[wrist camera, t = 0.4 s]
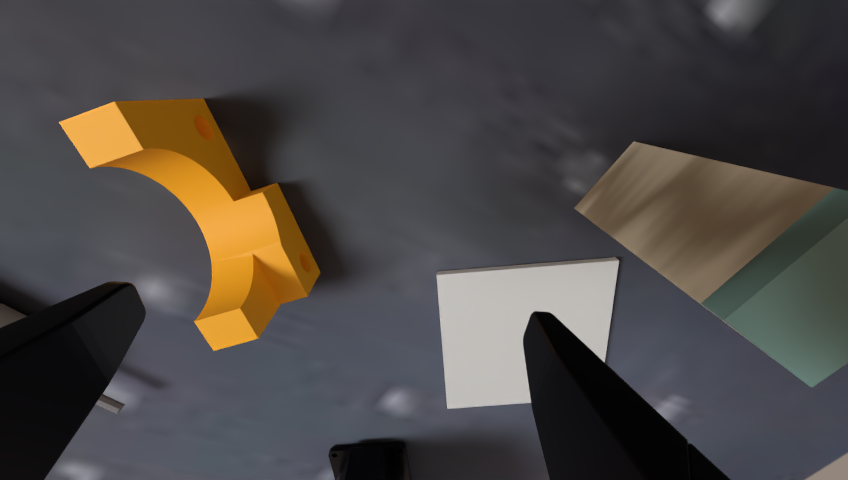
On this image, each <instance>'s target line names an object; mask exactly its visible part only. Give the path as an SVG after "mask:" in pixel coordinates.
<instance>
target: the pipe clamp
mask: <svg viewBox="0 0 848 480" xmlns="http://www.w3.org/2000/svg"><path fill="white" fill-rule="evenodd" d="M59 123H60V125H61V126H62V128H63V129H64V131H65V132H66V134H67V135H68V137H69V138H70V140H71V141H72V143H73V144H74V145H75V147H76V148H77V150H78V151H79V153H80V154H81V156H82V157H83V159H84V160H85V162H86V163H87V165H88V166H89V168H95V167H119V168H125V169H129V170H132V171H136V172H138V173H141V174H144V175H146V176H148V177H150V178H152V179H153V180H155V181H157V182H159V183H160V184H162V185H163V186H164V187H166V188H167V189H168V190H170V191H171V192H172V193H173V194H174V195H175V196H176V197H177V198H179V199H180V200H181V202H182V203H183V204H184V205H185V206H186V207H187V208H188V210H189V211H190V212H191V214H192V215H193V217H194V218H195V220H196V221H197V223H198V225H199V226H200V228H201V230H202V232H203V235H204V237H205V239H206V242H207V245H208V248H209V252H210V257H211V263H212V284H211V290H210V294H209V297H208V300H207V303H206V305H205V307H204V309H203V310H202V312H201V313H200V315H199V316H198V317H197V319H196V320H195V321H194V322H195V324H196V325H197V327H198V328H199V330H200V331H201V333H202V334H203V336H204V337H205V339H206V340H207V342H208V343H209V344H210V346H211V347H212V349H213V350H214V351H215V350H219V349H222V348H226V347H229V346H233V345H237V344H240V343H244V342H247V341H251V340H254V339H258V338H259V337H260V335H261V334H262V332H263V330H264V329H265V327H266V326H267V324H268V323H269V321H270V320H271V318H272V317H273V315H274V314H275V312H276V311H277V309H278V307H279V306H280V304H283V303H286V302H290V301H293V300H297V299H300V298H304V297H307V296H308V295H309V293H310V291H311V289H312V287H313V285H314V284H315V282H316V280H317V278H318V276H319V274H320V273H321V272H320V270H319V268H318V266H317V264H316V262H315V260H314V258H313V256H312V254H311V252H310V249H309V247H308V245H307V243H306V241H305V239H304V237H303V235H302V233H301V231H300V229H299V227H298V225H297V222H296V220H295V218H294V216H293V214H292V212H291V210H290V208H289V206H288V204H287V202H286V200H285V198H284V195H283V193H282V191H281V189H280V187H279V185H278V183H275V184H272V185H269V186H266V187H262V188H259V189H256V190H253V191H251V190H250V188H249V186H248V184H247V182H246V180H245V178H244V176H243V174H242V172H241V170H240V168H239V166H238V164H237V162H236V161H235V159H234V157H233V155H232V153H231V151H230V149H229V147H228V145H227V143H226V141H225V139H224V137H223V135H222V133H221V131H220V129H219V128H218V126H217V124H216V122H215V120H214V118H213V116H212V114H211V112H210V110H209V108H208V106H207V104H206V102H205V100H204V99H175V100H146V101H117V102H112V103H109V104H106V105H104V106H101V107H98V108H96V109H93V110H90V111H88V112H85V113H82V114H80V115H77V116H74V117H72V118H69V119H66V120H64V121H61V122H59Z"/></svg>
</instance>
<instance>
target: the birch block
mask: <svg viewBox="0 0 848 480" xmlns="http://www.w3.org/2000/svg"><path fill="white" fill-rule="evenodd" d="M574 209H576V210H577V211H578V212H580V213H581V214H582V215H584V216H585V217H586V218H588V219H589V220H590V221H591V222H593V223H594V224H595V225H597V226H598V227H599V228H601V229H602V230H603V231H605V232H606V233H607V234H609V235H610V236H611V237H612V238H614V239H615V240H616V241H618V242H619V243H620V244H622V245H623V246H624V247H626V248H627V249H628V250H630V251H631V252H632V253H634V254H635V255H636V256H637V257H639V258H640V259H641V260H643V261H644V262H645V263H647V264H648V265H649V266H651V267H652V268H653V269H655V270H656V271H657V272H659V273H660V274H661V275H663V276H664V277H665V278H667V279H668V280H669V281H671V282H672V283H673V284H675V285H676V286H677V287H679V288H680V289H681V290H683V291H684V292H685V293H687V294H688V295H689V296H691V297H692V298H693V299H695V300H696V301H697V302H698V303H700V304H701V305H702V306H704V307H705V308H706V309H708V310H709V311H710V312H712V313H713V314H714V315H716V316H717V317H718V318H720V319H721V320H722V321H724V322H725V323H726V324H728V325H729V326H730V327H732V328H733V329H734V330H736V331H737V332H738V333H740V334H741V335H742V336H744V337H745V338H746V339H748V340H749V341H750V342H752V343H753V344H754V345H755V346H757V347H758V348H759V349H761V350H762V351H763V352H765V353H766V354H767V355H769V356H770V357H771V358H773V359H774V360H775V361H777V362H778V363H779V364H781V365H782V366H783V367H785V368H786V369H787V370H789V371H790V372H791V373H793V374H794V375H795V376H797V377H798V378H799V379H801V380H802V381H803V382H805V383H806V384H807V385H809V386H810V387H811V388H812V387H814V386H815V385H817V384H818V383H819V382H821V381H822V380H824V379H825V378H827V377H828V376H830V375H831V374H832V373H834V372H835V371H837V370H838V369H840V368H841V367H843V366H844V365H845V364H847V363H848V191H846V190H842V189H837V188H833V187H829V186H824V185H820V184H816V183H811V182H807V181H803V180H798V179H794V178H790V177H786V176H781V175H777V174H773V173H768V172H764V171H760V170H755V169H751V168H747V167H742V166H738V165H734V164H729V163H725V162H721V161H716V160H712V159H708V158H703V157H699V156H695V155H690V154H686V153H682V152H677V151H673V150H669V149H664V148H660V147H656V146H651V145H647V144H643V143H638V142H633V143H632V144H631V145H630V146H629V147H628V148H627V149H626V151H625V152H624V153H623V154H622V155H621V156H620V157H619V158H618V160H617V161H616V162H615V163H614V164H613V165H612V166H611V167H610V168H609V170H608V171H607V172H606V173H605V174H604V175H603V176H602V177H601V178H600V180H599V181H598V182H597V183H596V184H595V185H594V186H593V187H592V188H591V190H590V191H589V192H588V193H587V194H586V195H585V196H584V197H583V198H582V200H581V201H580V202H579V203H578V204H577V205H576V206H575V207H574Z"/></svg>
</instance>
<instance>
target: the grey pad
mask: <svg viewBox="0 0 848 480" xmlns="http://www.w3.org/2000/svg"><path fill="white" fill-rule="evenodd" d="M618 265H619V260H618V259H617V258H616V257H610V258H598V259H586V260H573V261H561V262H548V263H536V264H524V265H511V266H499V267H486V268H474V269H461V270H449V271H437V272H436V274H437V286H438V299H439V311H440V324H441V336H442V349H443V361H444V374H445V387H446V399H447V409H450V408H464V407H478V406H492V405H505V404H519V403H531V398H530V391H529V384H528V377H527V370H526V363H525V356H524V348H523V336H524V333H525V330H526V327H527V324H528V321H529V318H530V316H531V314H532V313H533V312H534V311H541V312H550V313H552V314H553V315H554V316H555V317H556V318H558V319H559V320H560V321H561V322H562V323H563V324H564V325H565V326H566V327H567V328H568V329H569V330H570V331H571V332H572V333H574V334H575V335H576V336H577V337H578V338H579V339H580V340H581V341H582V342H583V343H584V344H585V345H586V346H587V347H589V348H590V349H591V350H592V351H593V352H594V353H595V354H596V355H597V356H598V357H599V358H600V359H601V360H602V361H603V362H605V357H606V350H607V343H608V336H609V329H610V322H611V315H612V307H613V300H614V293H615V286H616V279H617V272H618Z"/></svg>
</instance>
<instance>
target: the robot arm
mask: <svg viewBox="0 0 848 480" xmlns="http://www.w3.org/2000/svg"><path fill="white" fill-rule="evenodd" d="M145 314H146V311H145V307H144V305H143V303H142V301H141V298H140V296H139V294H138V292H137V290H136V288H135V286H134V285H133V284H131V283H128V282H115V281H113V282H107V283H104V284H102V285H100V286H97V287H95V288H93V289H90V290H88V291H86V292H83V293H81V294H78V295H76V296H74V297H71V298H69V299H67V300H64V301H62V302H60V303H57V304H55V305H53V306H50V307H48V308H45V309H43V310H41V311H38V312H36V313H34V314H31V315H29V316H27V317H24V318H22V319H19V320H17V321H15V322H12V323H10V324H8V325H5V326H3V327H1V328H0V480H44V479H45V478H46V476H47V475H48V473H49V472H50V470H51V469H52V467H53V466H54V464H55V463H56V462H57V460H58V459H59V457H60V456H61V454H62V453H63V451H64V450H65V448H66V447H67V445H68V444H69V442H70V441H71V439H72V438H73V436H74V435H75V434H76V432H77V431H78V429H79V428H80V426H81V425H82V423H83V422H84V420H85V419H86V417H87V416H88V414H89V413H90V411H91V410H92V409H93V407H94V406H95V404H96V403H97V401H98V400H99V398H100V397H101V395H102V394H103V392H104V391H105V389H106V388H107V386H108V384H109V383H110V381H111V379H112V378H113V376H114V374H115V373H116V371H117V369H118V367H119V365H120V363H121V362H122V360H123V358H124V356H125V354H126V352H127V351H128V349H129V347H130V345H131V343H132V341H133V340H134V338H135V336H136V334H137V332H138V330H139V329H140V327H141V325H142V323H143V321H144V319H145ZM523 348H524V356H525V363H526V370H527V377H528V384H529V391H530V398H531V405H532V410H533V414H534V419H535V422H536V426H537V430H538V434H539V438H540V442H541V446H542V450H543V454H544V458H545V462H546V466H547V470H548V474H549V478H550V480H730V479H729V478H728V477H727V476H726V475H725V474H724V473H723V472H722V471H720V470H719V469H718V468H717V467H716V466H715V465H714V464H713V463H712V462H711V461H709V460H708V459H707V458H706V457H705V456H704V455H703V454H702V453H701V452H700V451H699V450H698V449H697V448H696V447H694V446H693V445H692V444H690V443H688V441H687V439H686V438H685V437H684V436H683V435H681V434H680V433H679V432H678V431H677V430H676V429H675V428H674V427H673V426H672V425H671V424H670V423H669V422H668V421H667V420H665V419H664V418H663V417H662V416H661V415H660V414H659V413H658V412H657V411H656V410H655V409H654V408H653V407H652V406H650V405H649V404H648V403H647V402H646V401H645V400H644V399H643V398H642V397H641V396H640V395H639V394H638V393H637V392H636V391H634V390H633V389H632V388H631V387H630V386H629V385H628V384H627V383H626V382H625V381H624V380H623V379H622V378H621V377H620V376H618V375H617V374H616V373H615V372H614V371H613V370H612V369H611V368H610V367H609V366H608V365H607V364H606V363H605V362H603V361H602V360H601V359H600V358H599V357H598V356H597V355H596V354H595V353H594V352H593V351H592V350H591V349H590V348H589V347H587V346H586V345H585V344H584V343H583V342H582V341H581V340H580V339H579V338H578V337H577V336H576V335H575V334H574V333H572V332H571V331H570V330H569V329H568V328H567V327H566V326H565V325H564V324H563V323H562V322H561V321H560V320H559V319H558V318H556V317H555V316H554V315H553V314H552V313H550V312H541V311H534V312H533V313H532V314H531V316H530V318H529V321H528V324H527V327H526V330H525V333H524V336H523ZM329 459H330V462H331V466H332V470H333V473H334V477H335V480H411V477H410V471H409V464H408V457H407V450H406V445H405V444H404V443H402V442H397V443H383V444H369V445H354V446H340V447H332V448H331V449H330V451H329Z"/></svg>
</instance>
